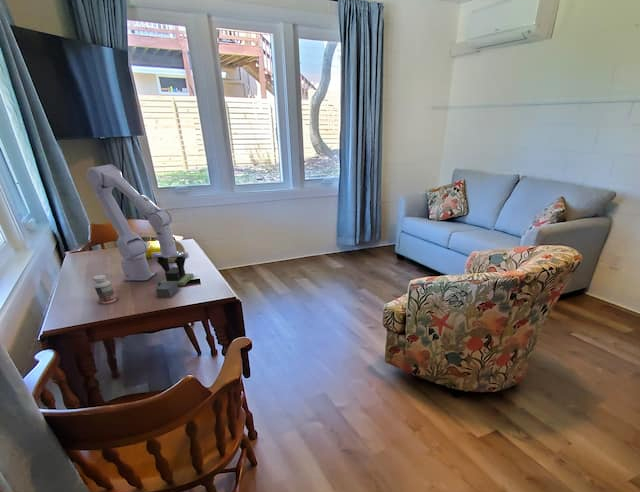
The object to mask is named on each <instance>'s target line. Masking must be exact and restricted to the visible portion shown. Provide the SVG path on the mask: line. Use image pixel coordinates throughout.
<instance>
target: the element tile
mask: <svg viewBox="0 0 640 492" xmlns="http://www.w3.org/2000/svg"><path fill="white" fill-rule="evenodd" d="M144 242H145V243H146V245H147V252H146V255H145V256H146V260H147V259H152V256H151V254H152V253H154V252H161V250H160V246H159V242H158V240H150V241H144Z"/></svg>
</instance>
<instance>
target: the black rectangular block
mask: <svg viewBox="0 0 640 492" xmlns="http://www.w3.org/2000/svg"><path fill="white" fill-rule="evenodd" d="M186 274H187V273H186V270H185V269H184V274H183V275H180V273H179V270H178V267H177V266H172V267H170V269H169V270H168V271H167V272H165V273H164V276H165V277H166V280H167V281H179V280H180V279H182V278H183V277H184V276H185V275H186Z"/></svg>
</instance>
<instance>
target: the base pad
mask: <svg viewBox="0 0 640 492" xmlns="http://www.w3.org/2000/svg"><path fill="white" fill-rule="evenodd" d="M185 274H186V275H185V276H184V277H183V278H182V279H180V280H179V281H167V280H166V276H165V277H164V278H163V279H161V280H160V281H159V282H158V283H159V286H160V285H161V284H162V283H163V282H176V283H177V287H178V286H181V287H182V286H186V284H188V283H189V282H190V281H191V280H192V278H194V274H193V273H185Z"/></svg>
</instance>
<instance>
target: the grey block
mask: <svg viewBox="0 0 640 492" xmlns="http://www.w3.org/2000/svg"><path fill="white" fill-rule="evenodd" d="M178 291H179V288H178V286H177V283H176V282H163V283H162V284H161V285H160V284H159V286H157V287H156V288H155V292H156V295H157V298H171V297H173V296H174V294H176V293H177V292H178Z"/></svg>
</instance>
